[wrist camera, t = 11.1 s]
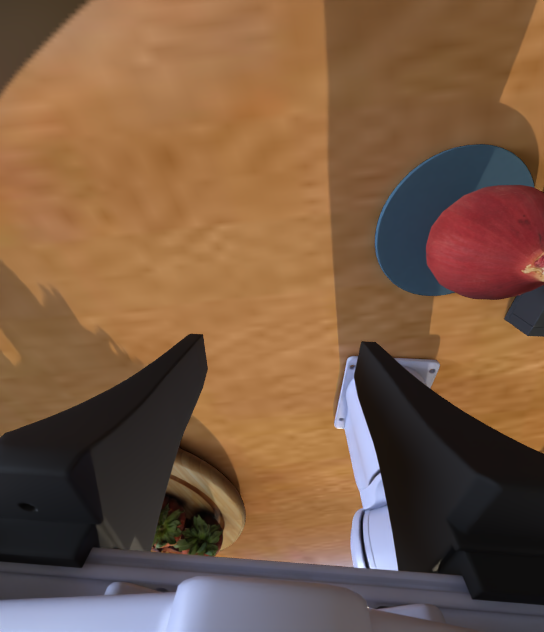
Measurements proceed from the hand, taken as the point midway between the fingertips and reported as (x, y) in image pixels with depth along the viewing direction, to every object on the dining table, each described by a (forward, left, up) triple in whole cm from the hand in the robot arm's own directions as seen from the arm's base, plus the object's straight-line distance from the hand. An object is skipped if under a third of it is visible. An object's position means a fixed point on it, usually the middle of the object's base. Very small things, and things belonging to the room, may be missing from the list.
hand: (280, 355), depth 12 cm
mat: (+4, -11, -9) cm, 15 cm away
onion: (+4, -11, -9) cm, 15 cm away
